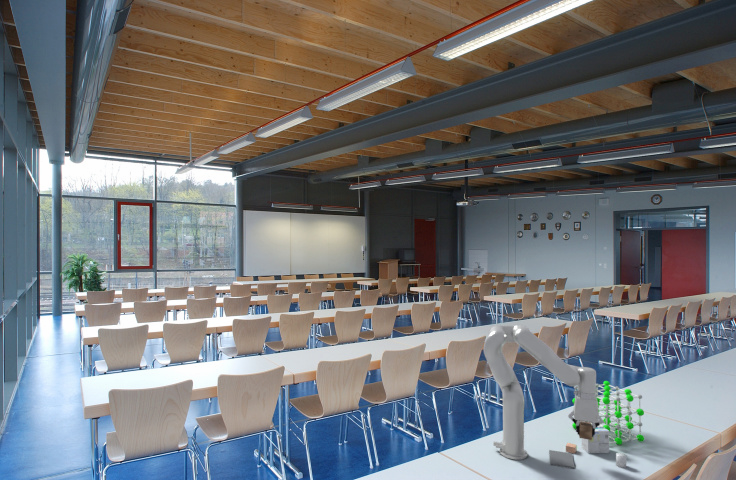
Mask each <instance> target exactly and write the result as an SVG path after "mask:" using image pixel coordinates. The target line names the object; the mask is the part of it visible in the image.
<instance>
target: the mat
mask: <svg viewBox="0 0 736 480" xmlns="http://www.w3.org/2000/svg"><path fill="white" fill-rule="evenodd" d="M548 455H549V456H548V457H549V465H550V466H554V467H555V466H556V467H561V468H567V469H571V470H572V469H573V470H574V469H575V463H574V457H573V453H570V452H566V451H565V452H564V451H560V450H559V451H558V450H553V449H552V450H551V449H549V450H548Z"/></svg>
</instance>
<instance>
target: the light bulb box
mask: <svg viewBox="0 0 736 480" xmlns="http://www.w3.org/2000/svg"><path fill="white" fill-rule="evenodd" d="M603 426H604V425H603ZM603 426H597V427H596V428H595V435H593V437H592V440H589V439H583V438H581V449H583V450H584V451H585V452H586V453H587V454H610V444H609V442H610V437H609V435H610V431H609V430H607V429H606V428H604V427H603Z"/></svg>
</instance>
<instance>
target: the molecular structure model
mask: <svg viewBox="0 0 736 480" xmlns="http://www.w3.org/2000/svg"><path fill="white" fill-rule="evenodd" d="M603 386H604V387H603ZM573 388H574V391H577V389H578V385H576V386H573ZM599 388H601V389H599ZM613 390H616V391H613ZM620 391H621V392H620ZM611 392H612V393H611ZM599 393H600V395H599ZM576 396H577V395H576V394H574V398H572V400H571V401H572V404H573V405H574V402H575V398H576ZM614 396H615V397H614ZM620 396H621V398H620ZM622 397H623V398H622ZM611 398H613V399H611ZM596 399H597V401H598V410H599V416H600V417H601V418H602V417H604V418H602V420H603V421H604V423H603V424H604V425H603V424H600V425H599V426H603V427H604V428H606V429H607V430H609V432H610V431H611V432H613V433H609V439H611V440H613V441H609V445H610V444H614V443H615V444H616V445H618V446H619V445H622V444H623V442H628V441H629V442H633V441H635V440H637V441H638V442H641V443H642V442H644V441H645V436H644V435H643V434H642V428H641V427H643V423H642V421H641V416H644V414H645V412H644V410H643V409H642V408H641V399H643V395H641V394H638V395H637V394H634V393H633V391H632V390H631V389H629V388H625V390H624V389H621V388H620V387H619V386H617V385H616V386H613V385H611V383H610V381H608V380H604V381H603V384H599V383H596ZM634 399H638V408H637V409H634V408H633V407H631V402H633V401H634ZM621 400H626V401H627V405H625V404H623V403H622V402H621ZM600 402H601V404H600ZM611 407H613V408H611ZM600 408H601V409H600ZM625 409H627V411H626V410H625ZM613 410H614V411H613ZM632 411H633V412H632ZM603 412H604V413H603ZM622 412H624V413H622ZM611 413H612V414H611ZM633 414H636V415H638V420H639V421H638V422H637V421H635V420H633V417H632V415H633ZM624 415H625V416H624ZM614 417H615V418H614ZM575 420H576V419H575ZM623 421H626V423H625V422H623ZM614 422H615V423H614ZM621 424H622V425H621ZM610 425H611V426H613V427H610ZM635 426H639V434H637V435H635V434H633V433H632V432H631V431H632V430H633V429H634V428H635ZM572 428H573V429H574V430H576V424H575V423H574V422H573V423H572ZM623 428H627V430H624V429H623ZM613 429H615V430H613ZM622 431H623V432H622ZM623 434H625V435H626V434H628V437H626V436H624V435H623ZM612 436H615V438H614V437H612ZM632 436H633V437H634V438H633V437H632ZM621 437H622V438H624V439H623V440H622V438H621Z"/></svg>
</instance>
